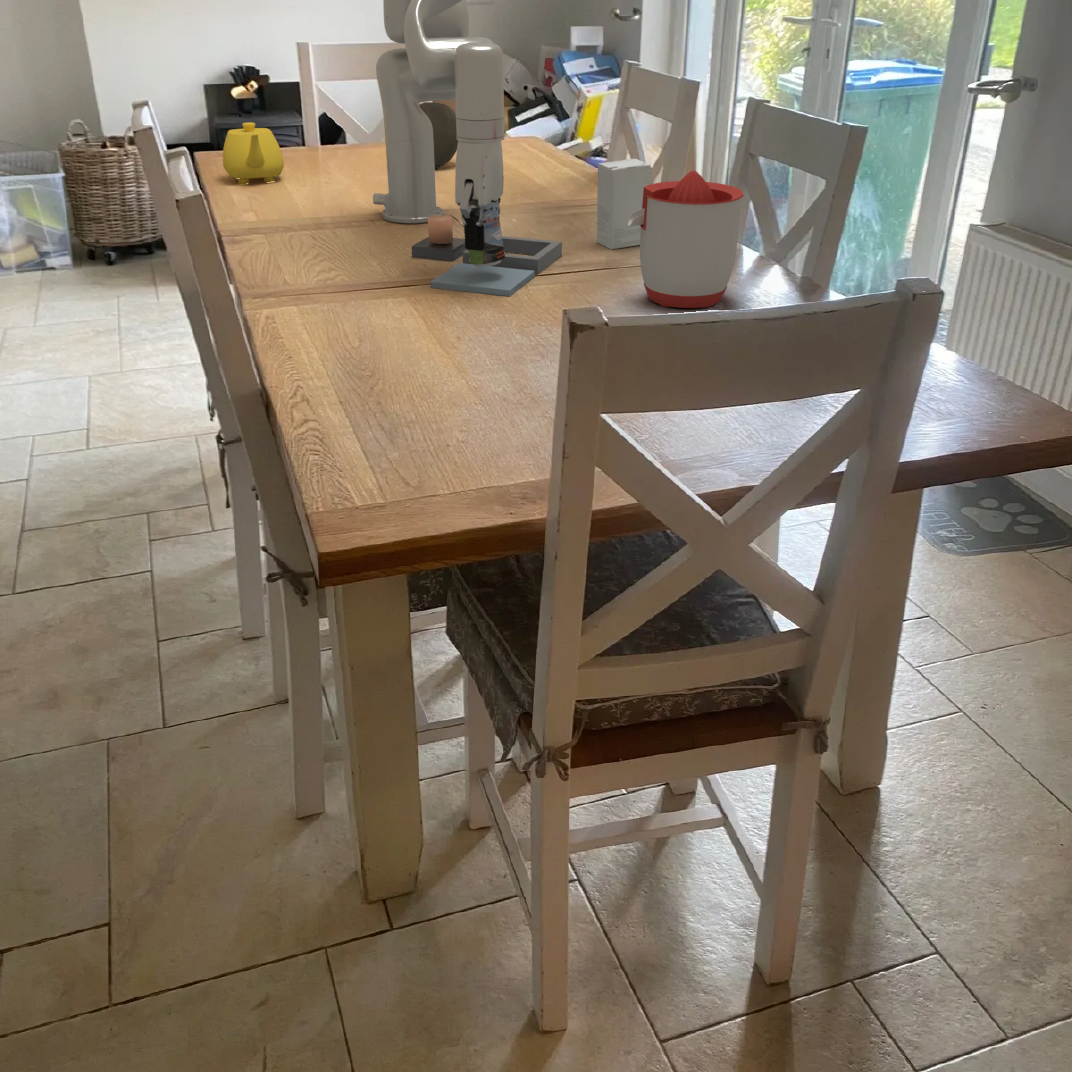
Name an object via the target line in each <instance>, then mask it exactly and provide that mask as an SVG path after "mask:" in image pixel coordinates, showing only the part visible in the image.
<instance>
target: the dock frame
mask: <svg viewBox="0 0 1072 1072" xmlns="http://www.w3.org/2000/svg"><path fill="white" fill-rule="evenodd" d="M502 240H503V246H504V253H505V258H504V259H502V260H501V262H500V263H499V264H496V265H493V267H503V268H512V269H522V270H532V271H535V275H539V274H540V273H541V272H542V271H544V270H546V268H548V267H549V266H550V265H552V263H554V262H555V261H557V260H558V259H559V258H560V257H561V256H562V255H563V250H562V248H563V241H561V240H560V241H559V240H549V239H537V238H527V237H518V236H517V237H515V236H506V235H502ZM508 252H514V253H513V254H509V253H508ZM507 253H508V254H507ZM518 253H522V254H521V255H520V254H519V255H518ZM527 255H528V256H527ZM529 255H531V256H529ZM461 257H462V263H464V264H471V263H470V262H469V257H468V251H467V250H465V251H464V252H462V256H461ZM473 265H474V264H473Z"/></svg>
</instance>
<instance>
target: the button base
mask: <svg viewBox="0 0 1072 1072" xmlns="http://www.w3.org/2000/svg"><path fill="white" fill-rule="evenodd" d="M465 250H467V249H466V248H465V238H458V237H453V241H452V242H450V243H444V244H436V243H431V242H429V236H427V237H425V238H423V239H422V240H420V241H419V242H418V241H417V242H416V243H414V244H413V245H411V257H412V258H417V259H427V260H436V261H446V262H447V261H448V262H454V261H456V260H458V259H459V258H460V257H463V256H462V252H464V251H465Z"/></svg>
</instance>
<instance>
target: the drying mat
mask: <svg viewBox="0 0 1072 1072" xmlns="http://www.w3.org/2000/svg"><path fill="white" fill-rule="evenodd" d="M535 277H536V274H535V271H532V270H522V269H512V268H503V267H493V266H487V267H476V266H474V265H473V264H464V263H463V262H459V263H457V264H455V265H454V266H452V267H451V268H449V269H447V270H446V271H445V272H443V273H442V274H440V275H439V276H437V277H435V278H434V279H432V280H431V281H430V288H432V289H441V290H449V291H458V292H459V291H460V292H468V293H476V294H483V295H484V294H485V295H496V296H503V297H511V296H512V295H514V294H515V293H516V292H518V291H519V290H520V289H521V288H522V287H523V285H524V286H525V285H526V284H527V283H528V282H530V281H532V279H534V278H535ZM518 289H519V290H518ZM510 295H511V296H510Z"/></svg>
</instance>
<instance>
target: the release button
mask: <svg viewBox="0 0 1072 1072" xmlns="http://www.w3.org/2000/svg"><path fill="white" fill-rule="evenodd" d="M453 227H454V226H453V217H452V216H451V215H445V214H444V215H437V216H431V217H428V222H427V228H428V229H427V231H428V237H429V242H431V243H436V244H444V243H450V242H452V241H453V238H454V229H453Z"/></svg>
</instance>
